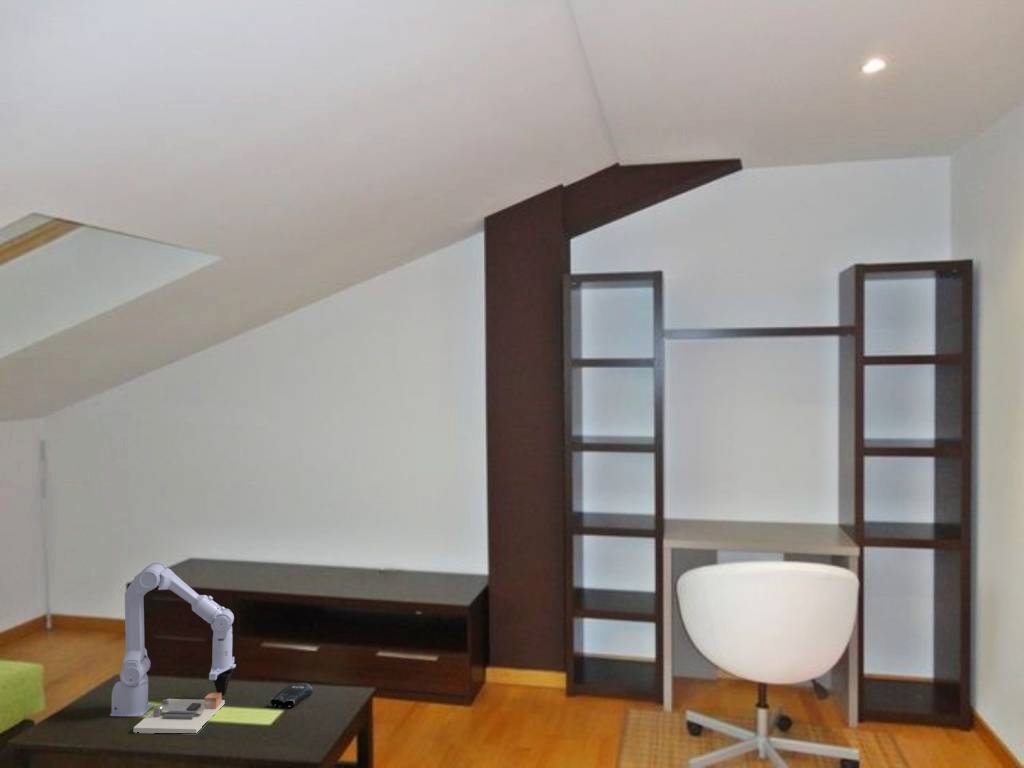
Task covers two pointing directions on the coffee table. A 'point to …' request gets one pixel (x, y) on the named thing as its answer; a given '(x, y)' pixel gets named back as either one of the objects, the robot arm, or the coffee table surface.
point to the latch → (214, 699)
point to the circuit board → (176, 718)
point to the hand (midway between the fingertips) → (221, 694)
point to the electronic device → (292, 694)
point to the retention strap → (183, 708)
